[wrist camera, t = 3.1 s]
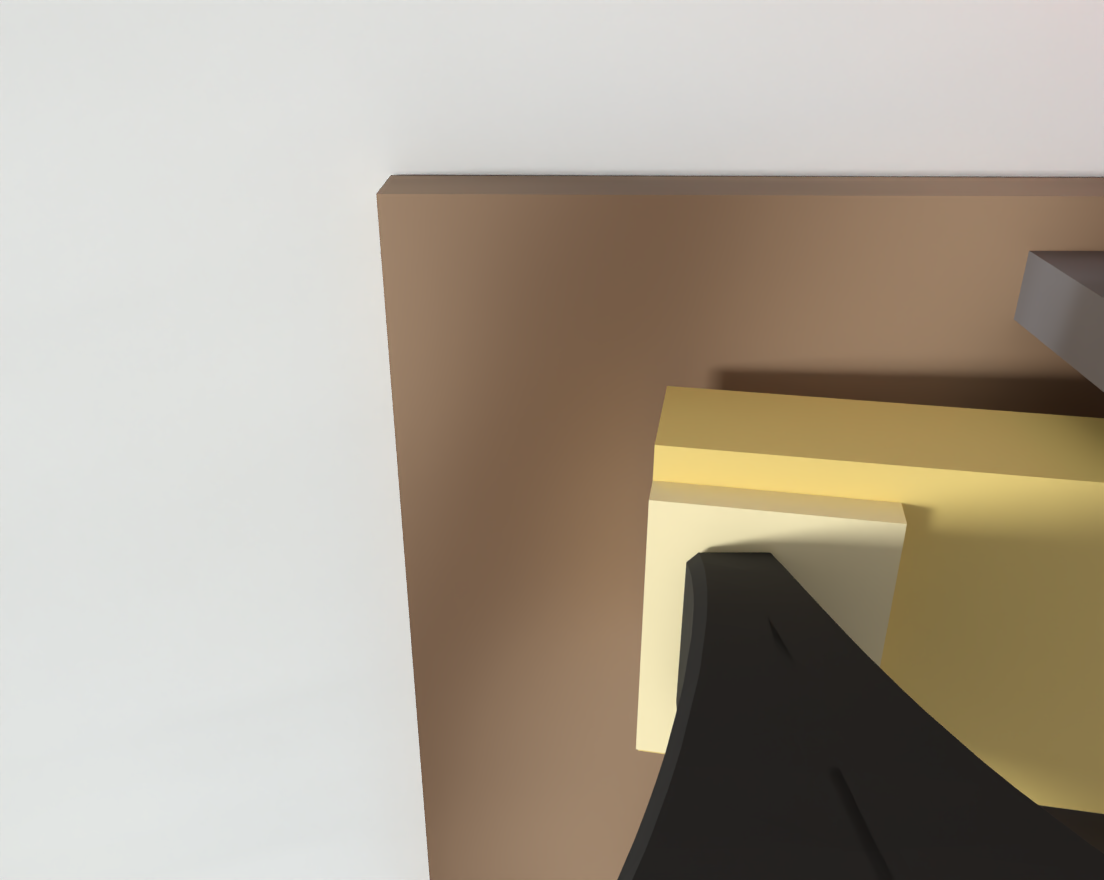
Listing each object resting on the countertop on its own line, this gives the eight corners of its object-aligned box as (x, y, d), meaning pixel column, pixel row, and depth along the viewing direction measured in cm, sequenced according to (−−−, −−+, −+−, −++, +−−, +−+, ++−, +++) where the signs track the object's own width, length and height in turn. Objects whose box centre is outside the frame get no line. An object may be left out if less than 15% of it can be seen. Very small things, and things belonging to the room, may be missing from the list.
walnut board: (1761, 179, 11) (2392, 298, 7) (1333, 967, 18) (1555, 1259, 14) (390, 174, 12) (301, 290, 8) (446, 958, 18) (413, 1244, 14)
